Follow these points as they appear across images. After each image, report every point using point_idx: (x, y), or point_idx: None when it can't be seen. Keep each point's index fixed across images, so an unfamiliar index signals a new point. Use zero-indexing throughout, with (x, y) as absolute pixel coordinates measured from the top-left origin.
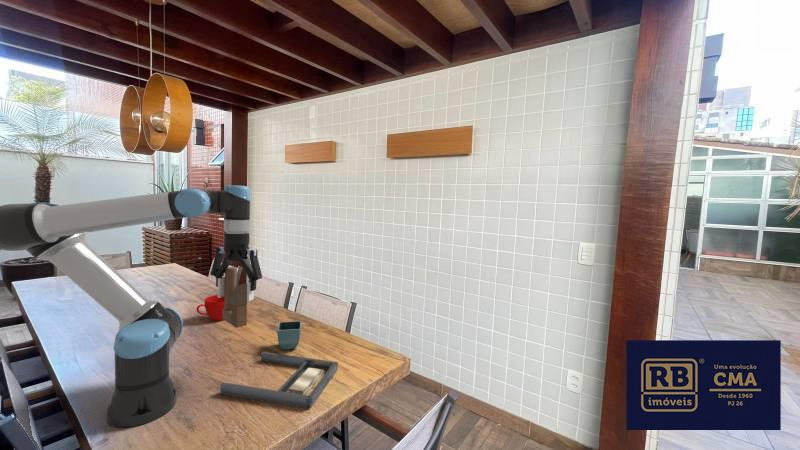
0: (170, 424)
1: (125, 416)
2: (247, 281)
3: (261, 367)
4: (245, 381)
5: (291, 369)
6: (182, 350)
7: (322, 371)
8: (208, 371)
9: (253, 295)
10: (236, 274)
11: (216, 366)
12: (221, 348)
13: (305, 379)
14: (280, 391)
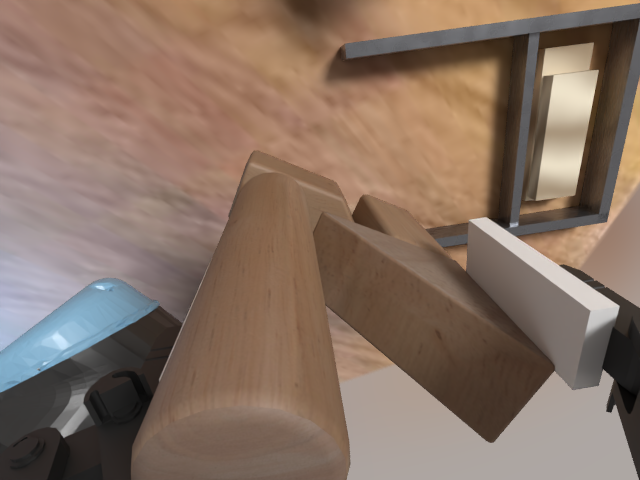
0: (345, 343)
1: None
2: (574, 387)
3: (371, 97)
4: (377, 182)
5: (471, 68)
6: (11, 108)
7: (589, 55)
8: (239, 183)
9: (501, 233)
10: (326, 345)
11: (234, 150)
12: (120, 29)
13: (565, 145)
14: (524, 225)
